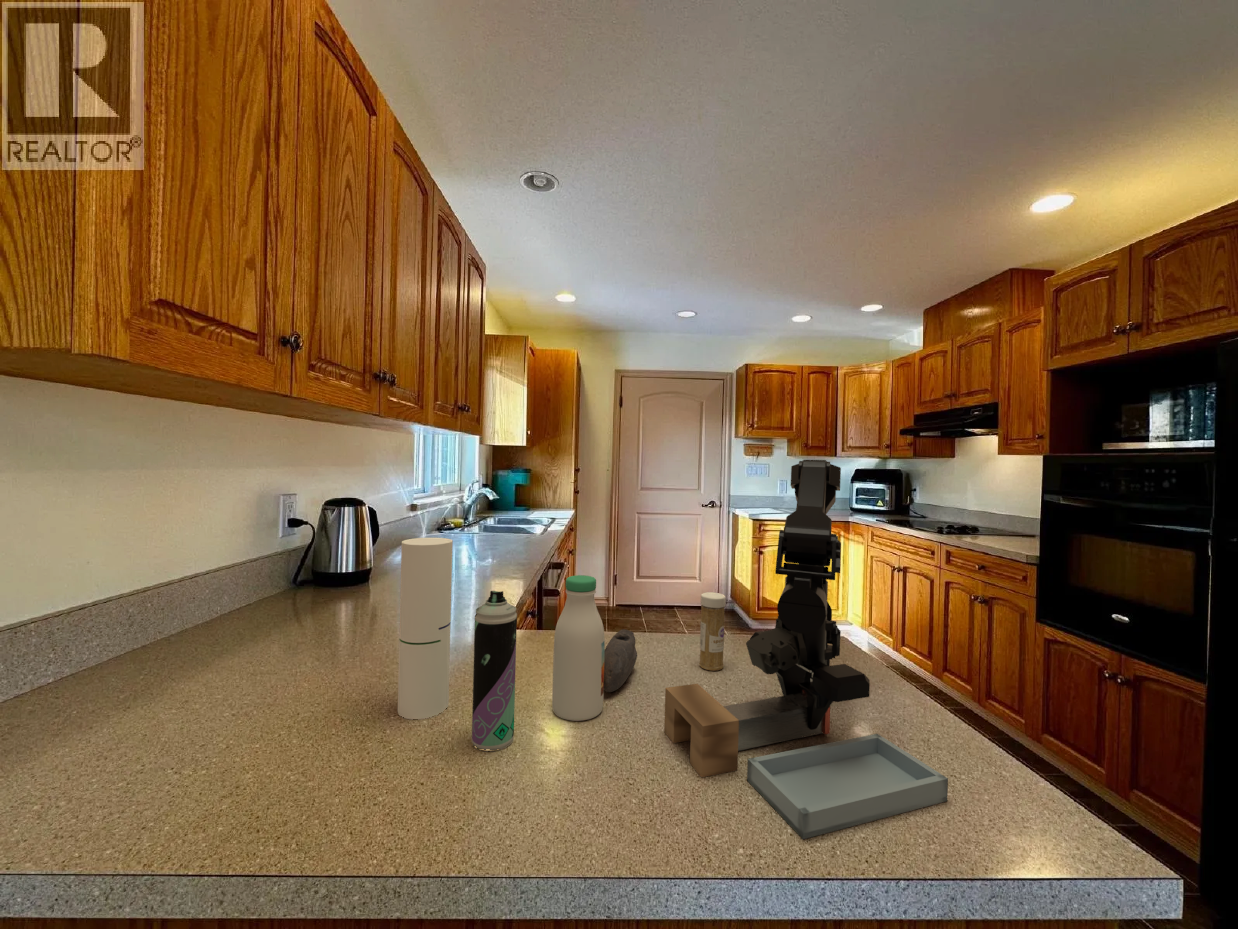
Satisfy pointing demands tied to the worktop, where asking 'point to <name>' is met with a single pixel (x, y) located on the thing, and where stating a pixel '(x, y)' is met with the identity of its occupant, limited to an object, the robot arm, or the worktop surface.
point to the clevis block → (702, 729)
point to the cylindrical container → (424, 627)
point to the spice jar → (712, 631)
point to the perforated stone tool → (619, 659)
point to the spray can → (494, 673)
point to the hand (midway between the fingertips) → (801, 721)
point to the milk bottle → (578, 654)
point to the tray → (844, 784)
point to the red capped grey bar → (775, 720)
